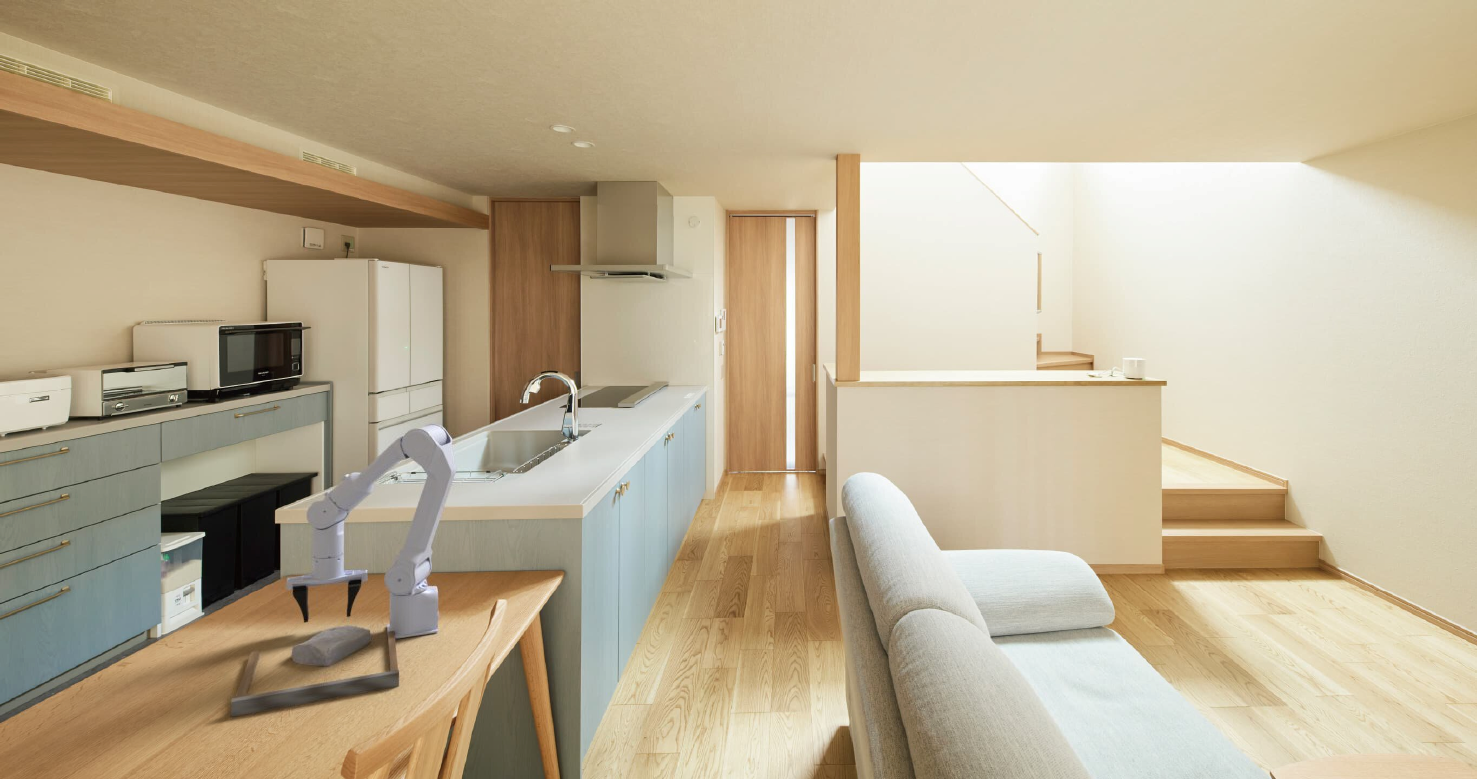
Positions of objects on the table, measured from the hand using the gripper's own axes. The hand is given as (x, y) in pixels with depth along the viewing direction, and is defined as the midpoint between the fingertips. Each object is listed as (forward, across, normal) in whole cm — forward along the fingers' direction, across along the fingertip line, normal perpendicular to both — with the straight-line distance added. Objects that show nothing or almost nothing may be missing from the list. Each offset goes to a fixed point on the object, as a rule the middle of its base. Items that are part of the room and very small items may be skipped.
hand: (327, 617), depth 144 cm
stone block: (+3, -1, +12) cm, 12 cm away
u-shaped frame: (+2, 0, +20) cm, 20 cm away
